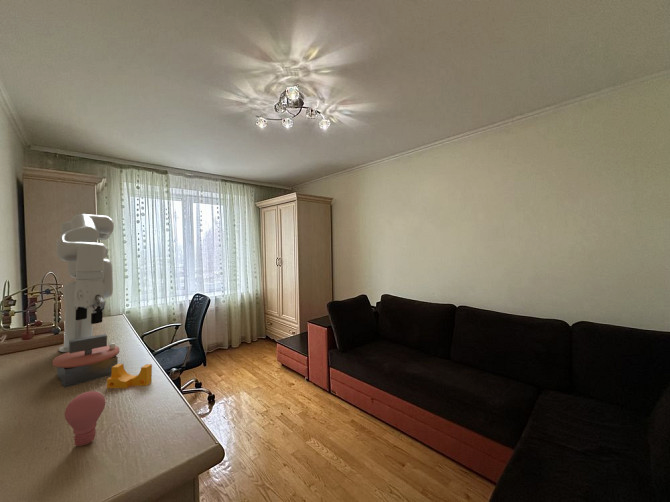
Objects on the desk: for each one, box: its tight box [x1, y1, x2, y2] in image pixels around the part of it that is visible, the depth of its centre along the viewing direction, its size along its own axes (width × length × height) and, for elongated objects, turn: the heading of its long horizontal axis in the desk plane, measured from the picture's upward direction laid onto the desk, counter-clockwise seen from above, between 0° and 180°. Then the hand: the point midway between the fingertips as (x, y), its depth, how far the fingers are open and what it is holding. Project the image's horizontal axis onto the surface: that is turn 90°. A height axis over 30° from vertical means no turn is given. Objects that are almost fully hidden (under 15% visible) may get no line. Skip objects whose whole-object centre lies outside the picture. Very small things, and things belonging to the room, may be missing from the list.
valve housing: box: [56, 355, 119, 389], centre depth 97 cm, size 14×14×6 cm
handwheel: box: [52, 333, 120, 368], centre depth 97 cm, size 18×18×7 cm
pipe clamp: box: [106, 363, 153, 389], centre depth 90 cm, size 12×4×6 cm, turn 91°
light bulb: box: [64, 390, 106, 446], centre depth 63 cm, size 7×7×12 cm
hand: (88, 321), depth 98 cm, fingers open, 9 cm apart
